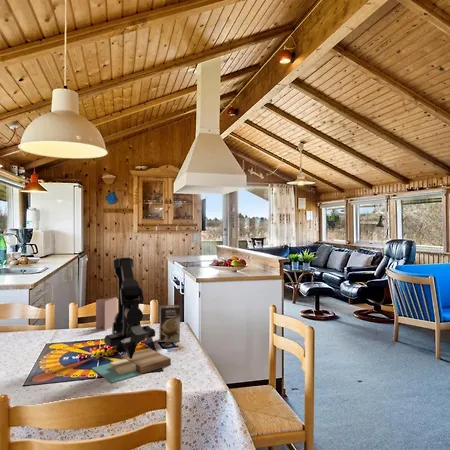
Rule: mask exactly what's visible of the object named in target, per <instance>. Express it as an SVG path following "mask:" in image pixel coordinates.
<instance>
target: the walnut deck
mask: <svg viewBox="0 0 450 450" xmlns="http://www.w3.org/2000/svg"><path fill="white" fill-rule="evenodd" d="M121 359H126V360H128V361H130V362H132V363H134V364H135V365H136V371H137V372H139V373H140V375H143V374H145V373H149V372H153V371H155V370H159V369H161V368H166V367H168V366H171V364H172V363H171V362H172V361H171V360H172V359H171V357H168V356H166V355H164V354H162V353H159V352H158V351H156V350H154V349H152V348H149V347H148V348H145V349H141V350H137V351H134V354H133V357H132V359H129V357H128V355H127V353H125V354H121V355H120V360H121Z"/></svg>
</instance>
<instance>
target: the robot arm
mask: <svg viewBox="0 0 450 450" xmlns="http://www.w3.org/2000/svg"><path fill="white" fill-rule="evenodd" d="M134 262H135V261H134V258H132V257H120V258H119V257H118V258H117V257H116V258H115V259H114V260H112V269H113V273H114V275H116V276H115V277H116V278H117V315H116V316H115V318H114V322H113V327H111V334H107V335H105V336H104V338H103V339H104V341H103V342H104V344H105V345H108V346H109V347H112V349H114V350H115V351H118V352H123V351H125V352H126V353H125V354H127V355H128V357H129V359H132V357H133V354H134V352H136V349H137V347H138V344H139V343H141V342H144V341H145V340H146V338H149V339H150V338H154V337H156V330H155V329H154V328H152V327H150V325H144V326H142V325H141V321H142V320H143V317H144V314H143V311H142V310H141V308H140V305H143V303H144V301H145V298H144V292H143V289H142V287H140V284H139V283H140V282H139V281H138V280H136V279H135V275H134V271H133V269H134V268H135V267H134V265H135V264H134Z"/></svg>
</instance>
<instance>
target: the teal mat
mask: <svg viewBox="0 0 450 450" xmlns="http://www.w3.org/2000/svg"><path fill="white" fill-rule="evenodd" d="M91 370H93V371H94V372H95V373H97V374H99V375H100V376H101V377H102V378H104V379H105V380H107V381H108V382H109V383H111V384H114V383H117V382H121V381H125V380H128V379H131V378H134V377H137V376H141V374H140V373H139V372H137V371H132V372H129V373H126V374H122V375H121V374H119V373H118V372H116V371H115V370H113V369H112V368H110V362H109V363H105V364H102V365H97V366H94V367H93V366H92V367H91Z"/></svg>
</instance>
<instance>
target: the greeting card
mask: <svg viewBox="0 0 450 450" xmlns="http://www.w3.org/2000/svg"><path fill="white" fill-rule="evenodd" d="M117 313H118V296H115V297H114V296H113V297H106V298H100V299H96V300H95V329H100V328H104V331H107V330H109V329H112V327H113V322H114V318H115V316H116V315H117Z"/></svg>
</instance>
